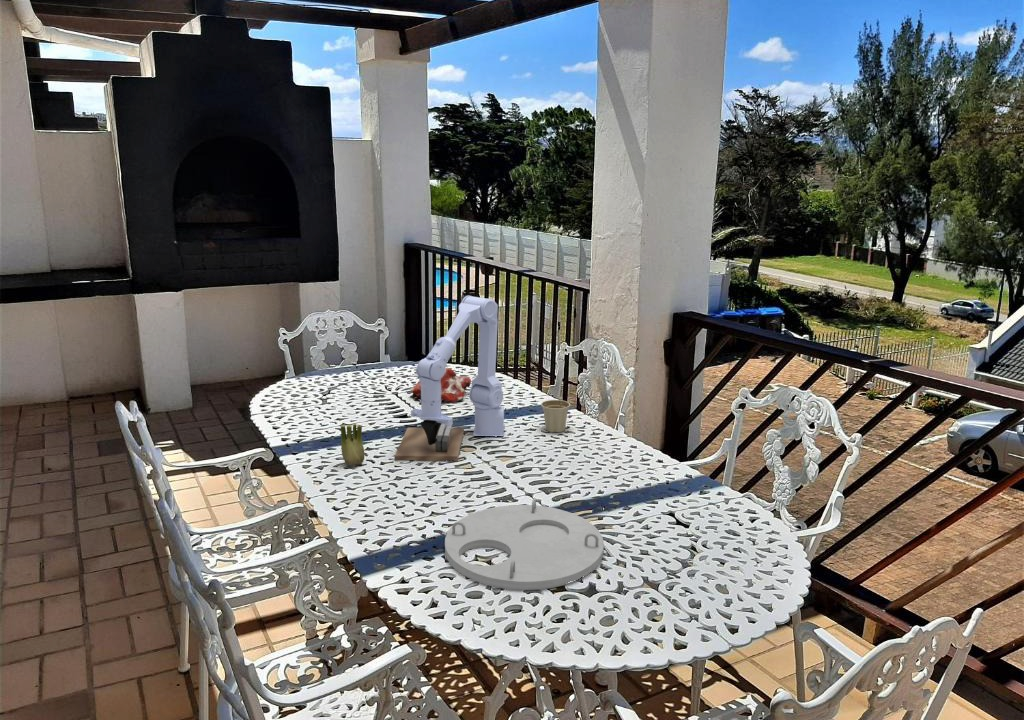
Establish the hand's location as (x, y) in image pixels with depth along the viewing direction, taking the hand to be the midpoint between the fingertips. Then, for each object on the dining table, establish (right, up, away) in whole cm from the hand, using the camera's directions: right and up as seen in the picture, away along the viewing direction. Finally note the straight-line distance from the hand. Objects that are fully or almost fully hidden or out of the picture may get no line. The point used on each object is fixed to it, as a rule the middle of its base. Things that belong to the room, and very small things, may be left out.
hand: (432, 443), depth 214 cm
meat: (-3, +11, +56) cm, 57 cm away
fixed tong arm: (+4, 0, +5) cm, 6 cm away
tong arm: (+2, 0, +6) cm, 7 cm away
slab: (+26, -17, -53) cm, 61 cm away
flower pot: (+37, +2, +22) cm, 43 cm away
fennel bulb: (-21, -5, -8) cm, 23 cm away
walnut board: (-1, -1, +7) cm, 7 cm away
